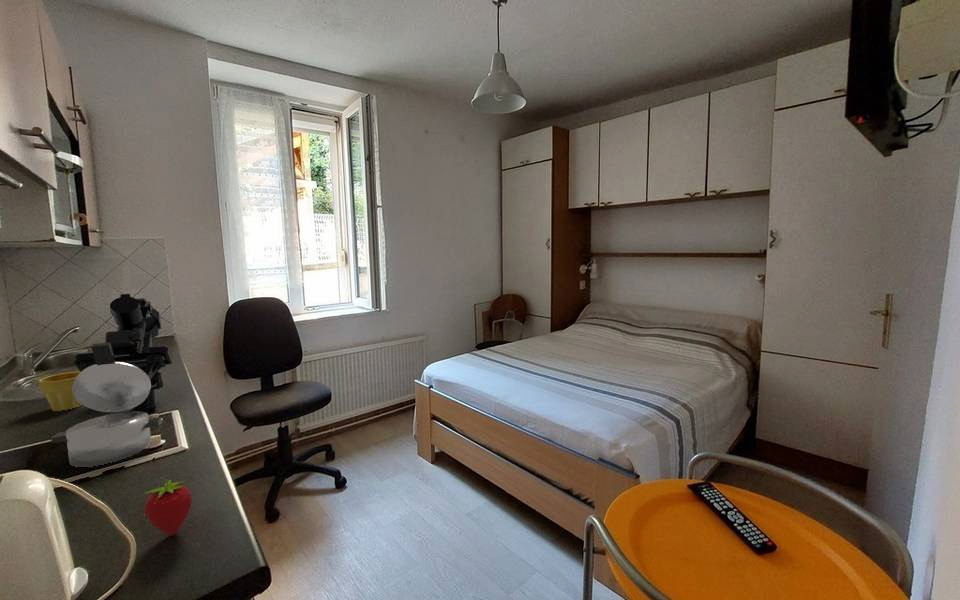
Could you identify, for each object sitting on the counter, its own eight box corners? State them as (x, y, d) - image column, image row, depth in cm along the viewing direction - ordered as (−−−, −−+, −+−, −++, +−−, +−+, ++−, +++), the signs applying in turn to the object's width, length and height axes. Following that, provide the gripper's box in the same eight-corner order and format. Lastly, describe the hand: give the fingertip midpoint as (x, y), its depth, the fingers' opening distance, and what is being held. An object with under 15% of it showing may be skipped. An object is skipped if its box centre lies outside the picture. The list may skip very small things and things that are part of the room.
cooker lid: (81, 417, 96) (84, 410, 98) (155, 406, 102) (157, 400, 104) (57, 349, 88) (61, 344, 90) (139, 342, 94) (141, 337, 96)
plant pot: (60, 415, 118) (56, 382, 117) (33, 412, 120) (28, 380, 119) (100, 402, 128) (96, 372, 127) (74, 400, 130) (70, 370, 129)
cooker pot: (72, 448, 96) (68, 420, 95) (169, 432, 104) (166, 406, 103) (41, 476, 83) (37, 444, 83) (154, 455, 92) (151, 425, 91)
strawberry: (150, 557, 60) (143, 493, 59) (146, 532, 66) (140, 473, 65) (198, 538, 64) (192, 478, 63) (191, 516, 70) (185, 460, 69)
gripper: (71, 321, 100) (55, 376, 91) (165, 315, 108) (159, 365, 99) (88, 346, 108) (75, 399, 99) (175, 339, 116) (169, 387, 107)
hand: (120, 387), depth 101 cm, fingers open, 9 cm apart
